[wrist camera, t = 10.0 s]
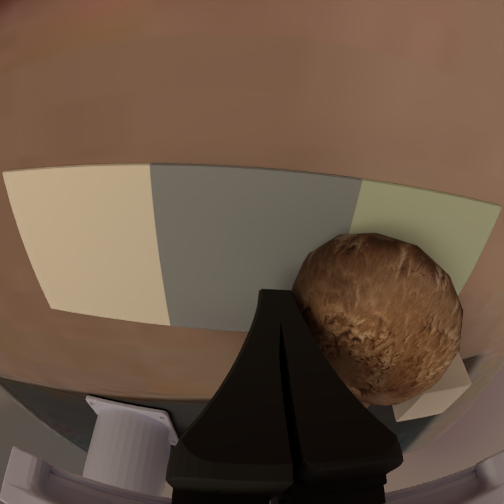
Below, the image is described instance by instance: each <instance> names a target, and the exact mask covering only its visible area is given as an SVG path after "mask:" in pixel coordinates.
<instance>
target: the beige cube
mask: <svg viewBox="0 0 504 504" xmlns="http://www.w3.org/2000/svg"><path fill="white" fill-rule="evenodd" d="M471 385H472V384H471V381H470V379H469V376H468V374H467V371H466V369H465V366H464V364H463V361H462V359H461V356H460V354H459V352H458V353H457V355H456V356H455V358H454V360H453V361H452V363H451V364H450V366H449V367H448V368H447V370H446V371H445V373H444V374H443V376H442V377H441V378H440V380H439V381H438V382H437V383H436V384H435V385H434V386H433V387H432V388H430V389H428V390H426V391H425V392H423V393H421V394H419V395H417V396H415V397H413V398H411V399H409V400H407V401H405V402H403V403H400V404H397V405H392V406H393V410H394V415H395V419H396V422H398V421H404V420H410V419H416V418H421V417H426V416H431V415H436V414H440V413H443V412H444V411H445V410H446V409H447V408H448V407H449V406H450V405H451V404H452V403H453V402H454V401H456V400H457V399H458V398H459V397H460V396H461V395H462V394H463V393H464V392H465V391H466V390H467V389H468V388H469V387H470V386H471Z"/></svg>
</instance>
